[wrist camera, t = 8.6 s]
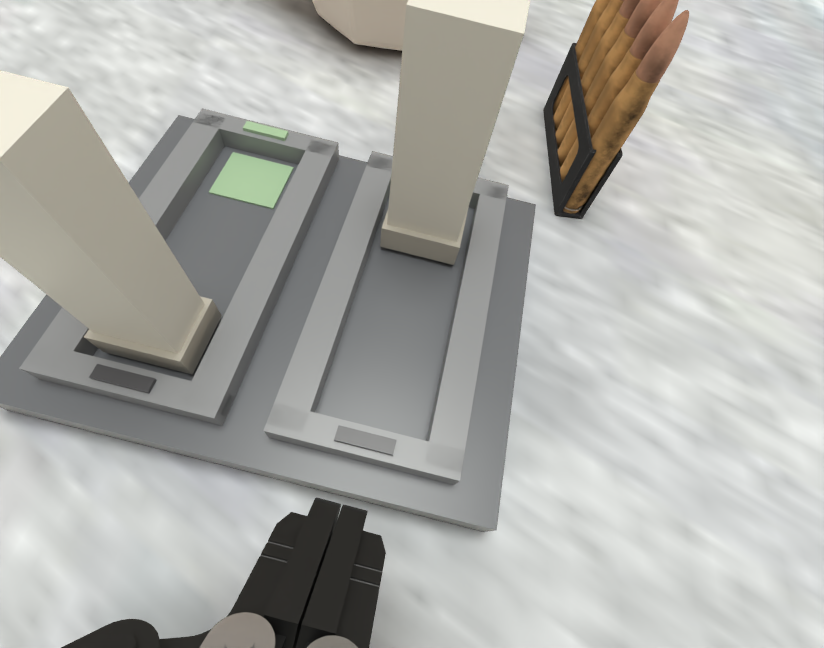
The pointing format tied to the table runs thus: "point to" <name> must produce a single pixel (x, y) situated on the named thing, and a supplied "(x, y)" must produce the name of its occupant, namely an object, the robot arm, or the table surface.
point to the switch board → (307, 329)
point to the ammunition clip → (605, 93)
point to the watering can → (366, 20)
